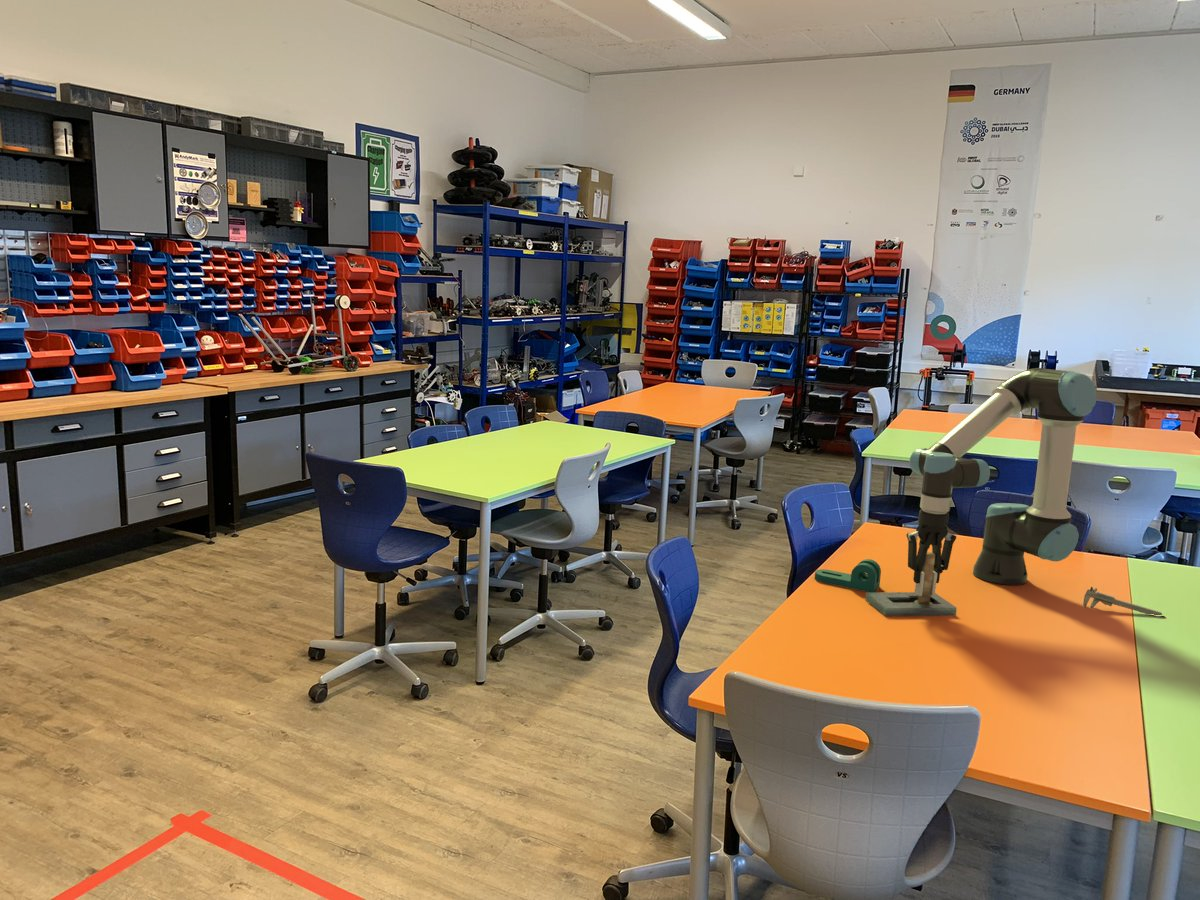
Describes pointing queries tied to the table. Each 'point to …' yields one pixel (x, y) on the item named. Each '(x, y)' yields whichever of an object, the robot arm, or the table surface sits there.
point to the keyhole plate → (909, 604)
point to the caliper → (1114, 602)
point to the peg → (927, 579)
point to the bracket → (854, 576)
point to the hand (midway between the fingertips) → (924, 594)
